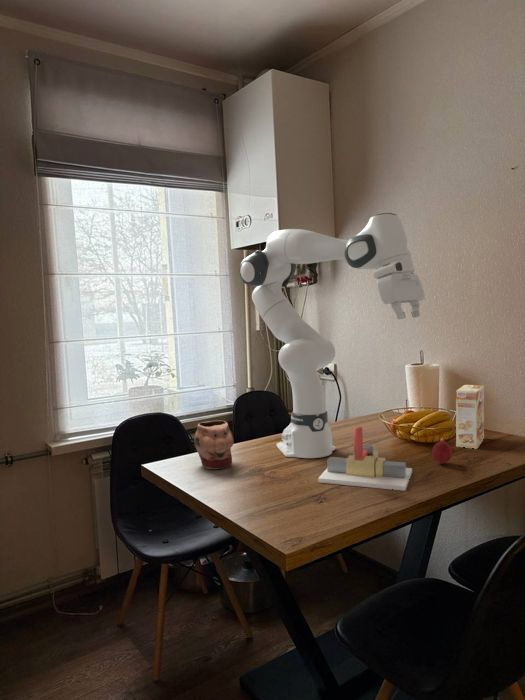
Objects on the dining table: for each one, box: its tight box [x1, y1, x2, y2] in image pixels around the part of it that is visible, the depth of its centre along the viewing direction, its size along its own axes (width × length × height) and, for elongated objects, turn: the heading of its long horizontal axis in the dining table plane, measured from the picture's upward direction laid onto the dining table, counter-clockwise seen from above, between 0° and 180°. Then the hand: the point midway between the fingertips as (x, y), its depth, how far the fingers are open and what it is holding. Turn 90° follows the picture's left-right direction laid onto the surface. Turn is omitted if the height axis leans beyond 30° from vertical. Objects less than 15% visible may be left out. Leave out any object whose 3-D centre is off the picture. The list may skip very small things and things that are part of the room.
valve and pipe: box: [326, 449, 407, 478], centre depth 150 cm, size 22×6×7 cm, turn 68°
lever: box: [352, 426, 374, 461], centre depth 145 cm, size 13×4×9 cm, turn 158°
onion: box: [431, 437, 453, 465], centre depth 159 cm, size 6×6×8 cm
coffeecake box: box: [455, 384, 485, 450], centre depth 181 cm, size 15×7×20 cm, turn 148°
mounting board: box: [317, 467, 413, 492], centre depth 150 cm, size 24×16×1 cm, turn 68°
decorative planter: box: [193, 420, 235, 470], centre depth 168 cm, size 20×12×14 cm, turn 28°
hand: (409, 318), depth 143 cm, fingers open, 8 cm apart
